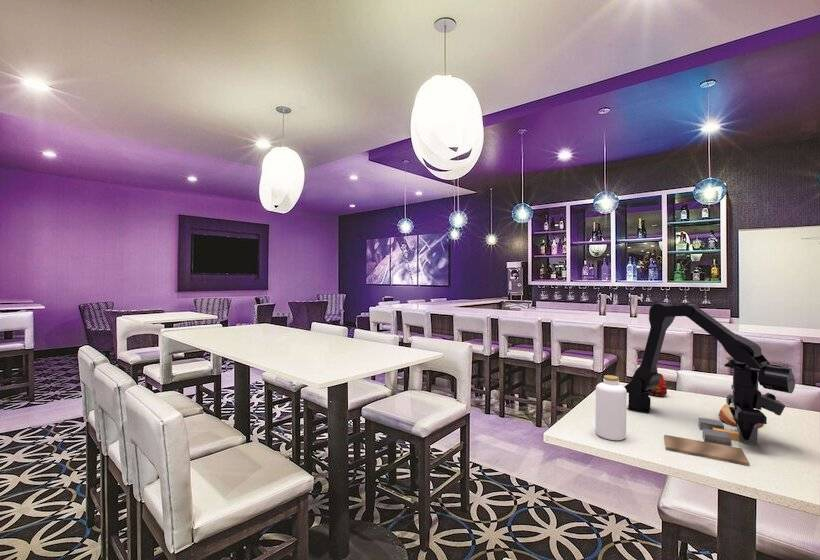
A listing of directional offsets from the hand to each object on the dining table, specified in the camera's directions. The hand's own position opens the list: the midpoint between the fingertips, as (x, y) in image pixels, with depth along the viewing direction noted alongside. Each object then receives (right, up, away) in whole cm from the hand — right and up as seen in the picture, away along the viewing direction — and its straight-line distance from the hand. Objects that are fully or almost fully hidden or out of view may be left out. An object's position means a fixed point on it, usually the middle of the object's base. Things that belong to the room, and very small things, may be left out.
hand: (744, 437), depth 117 cm
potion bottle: (-38, -1, +3) cm, 38 cm away
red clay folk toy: (+2, -1, +44) cm, 45 cm away
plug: (-2, -1, +1) cm, 3 cm away
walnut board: (-17, -1, -7) cm, 18 cm away
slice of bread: (+14, -2, +19) cm, 23 cm away
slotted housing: (-6, -1, +4) cm, 7 cm away
